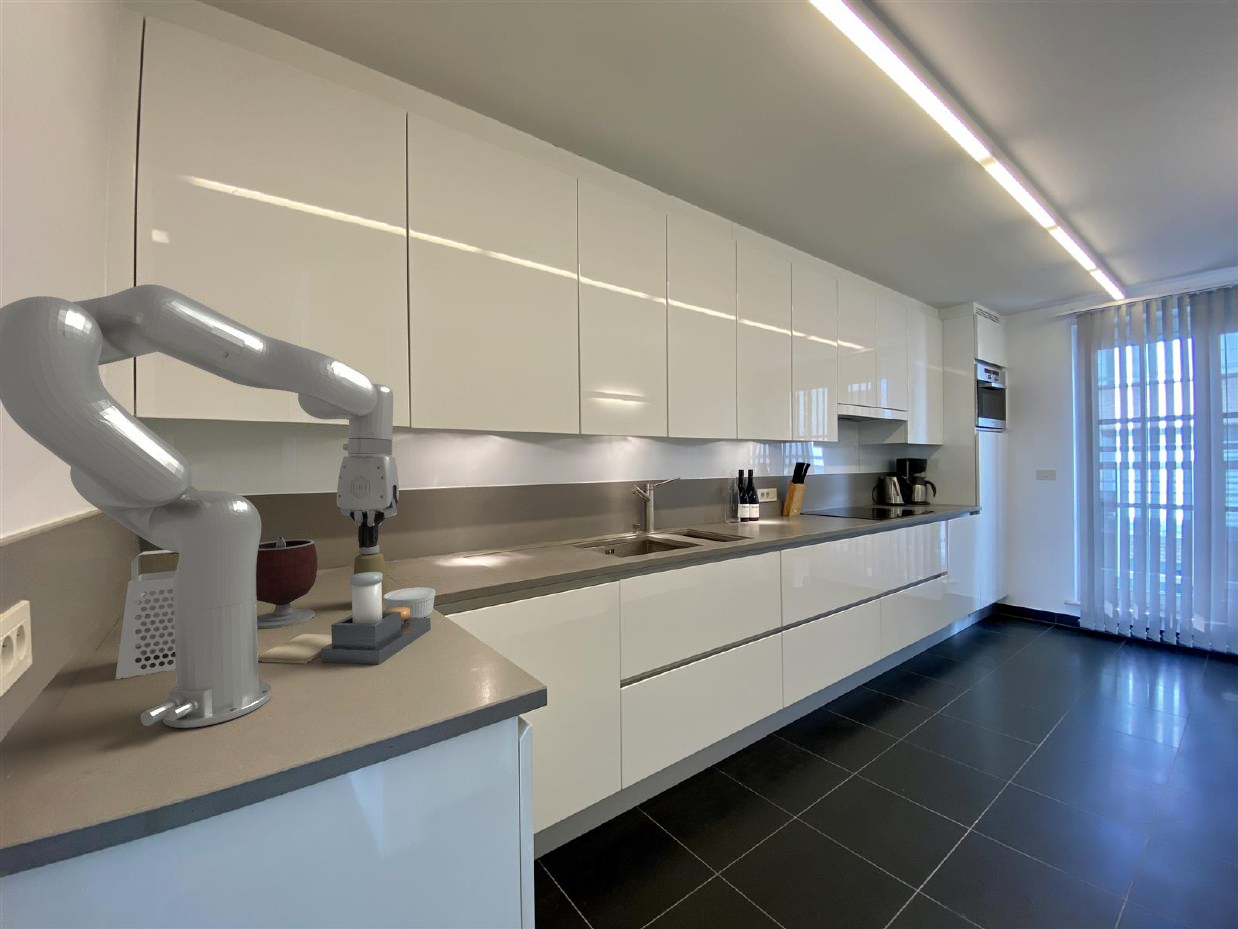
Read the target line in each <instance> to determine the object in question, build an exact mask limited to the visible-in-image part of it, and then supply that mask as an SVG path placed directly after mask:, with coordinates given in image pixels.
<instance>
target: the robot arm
mask: <svg viewBox="0 0 1238 929" xmlns="http://www.w3.org/2000/svg"><path fill="white" fill-rule="evenodd" d="M153 353H161V354H164V355H165V356H168V357H171V358H173V359H175V360H178V361H180V362H183V363H185V364H188V365H190V366H193V367H195V368H196V369H197V368H198V369H200V370H202V371H204V372H208V373H210V374H212V375H215V376H216V377H219V378H222V379H223V380H227V381H229V382H231V383H234V384H236V385H239V386H246V387H251V388H255V389H263V390H264V389H265V390H275V391H285V392H289V393H295V394H297V399H298V400H297V402H298V404H299V406H300V409H302V410H303V412H304V413H306V414H308V415H309V416H310V417H313V418H315V419H318V420H325V421H326V420H347V421H348V440H347V443H343V444H342V449H343V450H344V451H347V456H343V457H342V461H341V464H340V468H339V473H338V479H337V489H336V490H337V491H336V505H337V508H339V509H340V514H341V515H342V516H346V517H349V518H351V519H352V520H353V521H354V523H355V526H357V527H358V529H357V530H358V533H357V535H358V536H357V537H358V539H357V541H358V549H359V548H371V547H375V546H376V545H378V541H379V526H381V524H382V522H383V521H384V520H385V519H386V518H389V517H390V518H391V517H393V516H394V517H395V516H396V515H397V514H398V510H397V506H399V500H400V499H399V498H400V486H399V474H398V467H397V462H396V457H393V429H394V428H393V427H394V426H393V422H394V392H393V389H392V388H391V387H390V386H387V385H384V384H380V383H373V382H372V380H370V379H369V378H368V377H367V376H366V375H365V374H363V373H362V372H360V371H359V370H357V369H355V368H353V367H351V366H350V365H347V364H346V363H344V362H343V361H340V360H338V359H336V358H333V357H332V356H329V355H328V354H327V355H326V354H324V353H322V352H319V351H316V350H313V349H309V348H305V347H303V346H299V345H296V344H293V343H290V342H289V341H285V340H281V339H278V338H274V337H270V336H268V335H265V334H262V333H260V332H258V331H256V330H254V329H252V328H250V327H248V326H247V325H245V324H242V323H240V322H238V321H236V320H234V319H233V318H231V317H229V316H226V315H225V314H222V313H220V312H219V311H216V310H214V309H213V308H211V307H208V306H207V305H205V304H203V303H201V302H198V301H197V300H194V299H193V298H191V297H189V296H187V295H185V294H183V293H181V292H178V291H177V290H175V289H172V288H170V287H167V286H163V285H158V284H141V285H137V286H134V287H133V286H132V287H129V288H127V289H124V290H121V291H118V292H115V293H112V294H110V295H105V296H101V297H100V296H99V297H95V298H89V299H84V300H78V301H77V300H76V301H70V300H68V299H64V298H61V297H56V296H55V297H54V296H47V295H44V296H43V295H42V296H39V295H38V296H30V297H29V296H28V297H25V298H21V299H18V300H16V301H12V302H10V303H8V304H6V305H3V306H1V308H0V403H2V405H3V408H4V409H5V411H6V413H7V414H8V415H9V417H10V419H12V421H14V423H15V424H16V425H17V426H19V428H20V429H21V430H22V431H23V432H25V433H26V434H27V435H28V436H30V437H31V438H32V439H33V440H34V441H36V442H37V443H39V444H40V445H41V446H42V447H44V448H45V449H47V450H48V451H49V452H50V453H52V454H53V455H54V456H56V457H57V458H58V459H60V460H61V461H62V462H64V463H65V464H66V465H68V466H70V470H69V472H70V473H69V475H70V481H71V483H72V485H73V487H74V489H75V491H76V492H77V493H78V494H79V496H81V497H82V498H83V499H84V500H85V501H86V502H88V503H89V504H90V505H92V506H93V507H95V508H96V509H98V510H99V511H101V512H102V513H104V514H105V515H107V516H108V517H109V518H111V519H113V520H114V521H116V522H118V523H120V524H121V525H122V526H123V527H125V528H126V529H129V530H130V531H131V532H133V533H134V534H136V535H138V536H139V537H141V538H142V539H144V540H145V541H148V542H149V543H150V544H152V545H154V546H156V547H158V548H160V549H162V550H168V551H172V552H171V553H177V554H179V556H178V561H177V565H176V569H175V571H176V573H175V579H174V591H173V600H174V622H175V653H174V654H175V657H176V670H175V683H176V687H173V688H170V689H169V690H168V698H166V699H165V700H164V701H163V703H162V704H158V705H155V706H154V707H151V708H149V709H147V710H145V711H143V712H142V713H141V714H140V722H141V724H142V725H143V726H146V727H149V726H152V725H153V724H156V723H158V722H160V721H162V722H163V724H164V725H166V726H168V727H170V728H176V729H177V728H178V729H188V728H200V727H205V726H209V725H210V726H211V725H216V724H219V723H223V722H227V721H230V720H232V719H236V718H239V717H242V716H244V715H246V714H249V713H251V712H253V711H255V710H256V709H258V708H260V707H262V706H263V705H264V704H266V703H267V702H268V700H269V699H270V698H271V697H272V686H271V685H270V684H269V683H267V682H265V681H261V680H259V679H260V676H259V672H260V671H259V662H258V655H259V638H258V635H259V634H258V628H257V616H258V601H257V596H256V563H257V554H258V548H259V543H261V542H260V541H261V536H262V520H261V515H260V513H259V510H258V509H257V508H256V506H255V505H254V504H253V503H252V502H251V501H250V500H248V499H247V498H246V497H244V496H242V495H239V494H238V493H234V492H231V491H226V490H199V489H196V488H195V487H194V486H192V484H193V470H192V466H191V464H190V463H189V460H187V459H186V457H185V456H184V455H183V454H182V453H181V452H180V451H179V450H178V449H176V448H175V447H174V446H172V445H171V444H169V443H168V442H167V441H166V440H164V439H163V438H162V437H160V436H159V435H158V434H157V433H155V432H154V431H153V430H152V429H150V428H149V427H147V426H146V425H145V424H144V423H142V421H140V419H138V418H136V416H134V415H132V413H130V412H129V411H128V410H127V409H126V408H125V407H124V406H123V405H121V404H120V402H118V401H117V400H116V399H115V398H114V396H112V395H111V393H109V392H108V390H107V388H106V387H105V386H104V384H103V381H102V379H101V375H100V369H99V366H103V365H108V364H111V363H115V362H116V363H117V362H121V361H126V360H129V359H132V358H133V359H134V358H136V357H137V358H138V357H141V356H145V355H149V354H153Z"/></svg>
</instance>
